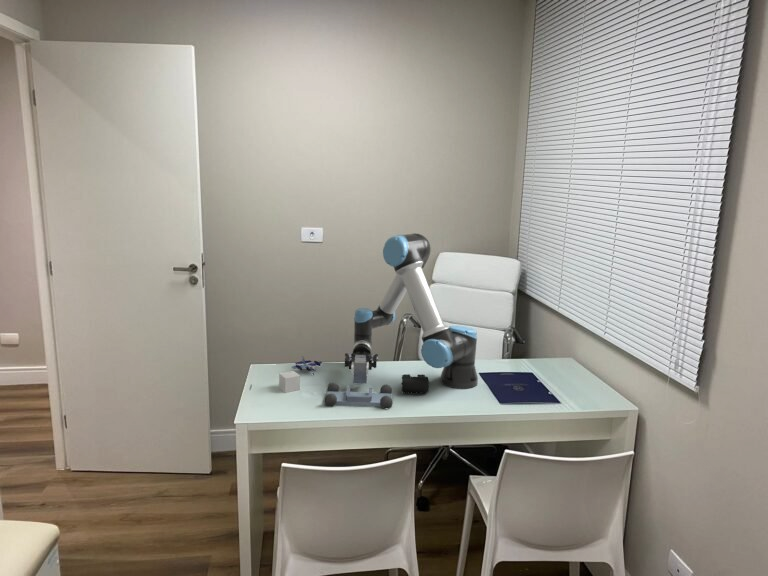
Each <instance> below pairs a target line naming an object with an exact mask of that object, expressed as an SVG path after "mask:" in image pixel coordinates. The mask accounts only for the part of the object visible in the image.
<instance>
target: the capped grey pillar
mask: <svg viewBox="0 0 768 576" xmlns="http://www.w3.org/2000/svg"><path fill="white" fill-rule="evenodd" d="M366 368H367V360H366V355H355V359H354V371H353V374H352V375H353V377H352V378H353V380H352V383H353V384H360V385H361V384H363V385H366V384H367V380H368V379H367V378H368V375H366Z"/></svg>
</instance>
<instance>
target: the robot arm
mask: <svg viewBox="0 0 768 576" xmlns="http://www.w3.org/2000/svg"><path fill="white" fill-rule="evenodd" d="M431 251H432V249H431V244H430V242H429V239H427V237H425V236H424V235H422V234H420V233H410V234H397V235H395V236H394V235H393V236H391V237H389V238H388V239H387V240H386V241H385V243H384V246H383V249H382V256H383V259H384V261H385V263H386V264H387V265H389V266H390V267H392V268H393V269H394V271H395V276H394V278H393V279H392V281H391V283H390V285H389V287H388V288H387V290H386V292H385V294H384V295H383V298H382V300H381V302H380V303H379V305H378V307H377V308H376V310H375V309H374V310H372V309H371V308H367V307H363V308H357V309H356V310H355V311H354V318H353V320H354V330H353V331H354V334H353V335H354V337H353V350H352V352H351V354H349V353H347V352H346V353H345V354H344V368H348V370H350V374H351V375H353V371H354V359H355V355H366V360H367V368H366V375H367V376H368V375H369V372H370V371H372V369H373V368H374V369H376V368H377V362H378V361H379V354H376V353H375V354H372V345H373V342H372V341H373V340H372V338H373V334H372V333H373V329H377V328H380V327H383V326H388V325H391V324H393V322H394V321H395V320H396V310H397V308H398V307H399V305H400V304H401V302H402V300H403V299H404V297H405V295H406V293H407V294H408V297H409V299H410V302H411V304H412V307H413V309H414V312H415V314H416V317H417V320H418V322H419V325H420V327H421V329H422V335H421V340H422V345H421V349H420V354H421V357H422V358H423V361H424V362H425V363H426V364H427V365H428V366H430V367H432V368H434V369H442V368H443V369H442V371H441V373H440V382H441V383H442V384H443V385H445V386H447V387H449V388H456V389H472V388H474V387H476V386H478V384H479V383H478V380H479V376H478V374H477V370H476V365H475V363H476V354H477V352H476V351H477V341H478V335H477V333H478V332H477V331H476V329H474V328H472V327H469V326H463V325H449V326H448V325H446V324H444V320H443V318H442V315H441V314H440V311H439V308H438V306H437V304H436V303H437V302H436V300H435V298H434V296H433V294H432V293H433V292H432V291H431V288H430V286H429V284H428V281H427V277H426V276H425V273H424V270H423V269H424V267H425V266H426V264H427V262H428V260H429V258H430V255H431Z"/></svg>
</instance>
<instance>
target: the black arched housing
mask: <svg viewBox="0 0 768 576" xmlns="http://www.w3.org/2000/svg"><path fill="white" fill-rule="evenodd" d="M400 384H401V393H402V394H427V393H428V392H429V389H430V380H429V377H428V376H426V375H425V374H417V375H416V376H411V374H402V375H401V383H400Z"/></svg>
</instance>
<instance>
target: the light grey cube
mask: <svg viewBox="0 0 768 576" xmlns="http://www.w3.org/2000/svg"><path fill="white" fill-rule="evenodd" d="M278 388H279V389H280V390H281V391H283V393H285V394H288V393H292V392H298V391H301V375H300V374H299V373H297V372H296V371H294V370H291V371H285V372H279V373H278Z"/></svg>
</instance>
